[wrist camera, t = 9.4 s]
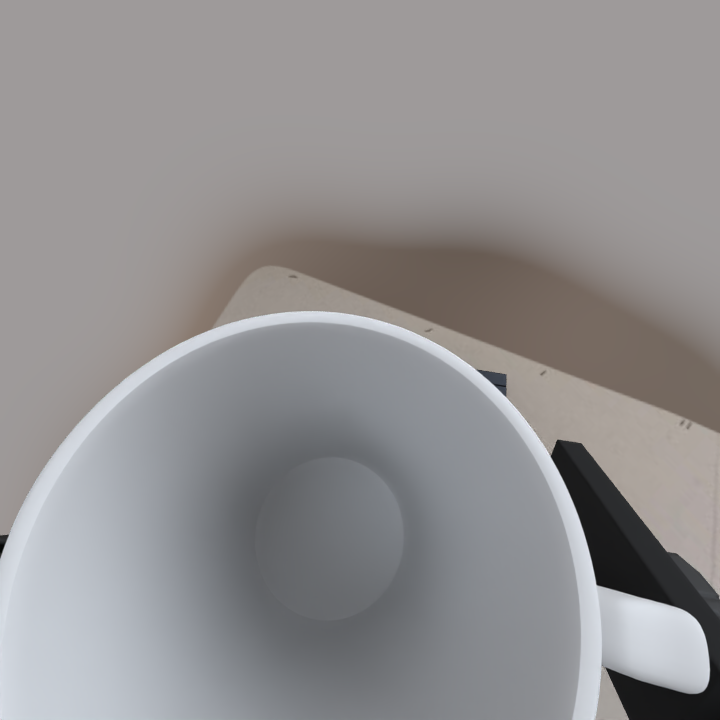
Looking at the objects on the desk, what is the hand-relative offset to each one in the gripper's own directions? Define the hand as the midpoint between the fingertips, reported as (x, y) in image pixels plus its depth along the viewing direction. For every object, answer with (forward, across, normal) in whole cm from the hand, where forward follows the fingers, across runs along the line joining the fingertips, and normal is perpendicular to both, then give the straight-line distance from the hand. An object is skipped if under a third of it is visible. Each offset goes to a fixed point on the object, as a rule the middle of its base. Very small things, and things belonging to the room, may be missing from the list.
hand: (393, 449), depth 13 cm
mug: (+1, 0, -5) cm, 5 cm away
